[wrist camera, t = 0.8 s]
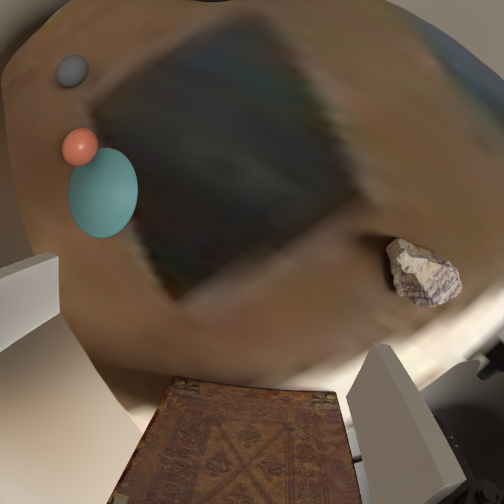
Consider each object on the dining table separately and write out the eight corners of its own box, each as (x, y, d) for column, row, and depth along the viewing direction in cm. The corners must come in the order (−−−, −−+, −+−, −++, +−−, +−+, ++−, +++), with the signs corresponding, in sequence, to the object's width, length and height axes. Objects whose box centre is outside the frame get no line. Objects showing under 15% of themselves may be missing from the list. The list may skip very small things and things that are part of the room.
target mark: (62, 169, 35) (61, 169, 35) (126, 133, 34) (125, 133, 34) (81, 247, 38) (80, 247, 37) (148, 221, 36) (148, 222, 36)
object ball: (79, 133, 34) (57, 127, 29) (107, 129, 34) (85, 122, 28) (76, 168, 35) (53, 166, 30) (103, 165, 35) (80, 163, 29)
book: (178, 414, 42) (116, 554, 13) (174, 375, 40) (88, 532, 11) (324, 429, 40) (342, 582, 11) (336, 390, 39) (373, 566, 9)
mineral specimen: (365, 282, 35) (380, 299, 29) (384, 231, 34) (403, 239, 28) (434, 305, 35) (455, 322, 29) (452, 260, 33) (476, 271, 27)
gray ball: (73, 65, 32) (54, 55, 26) (97, 58, 31) (79, 46, 26) (66, 93, 33) (45, 85, 28) (90, 87, 33) (70, 77, 27)
